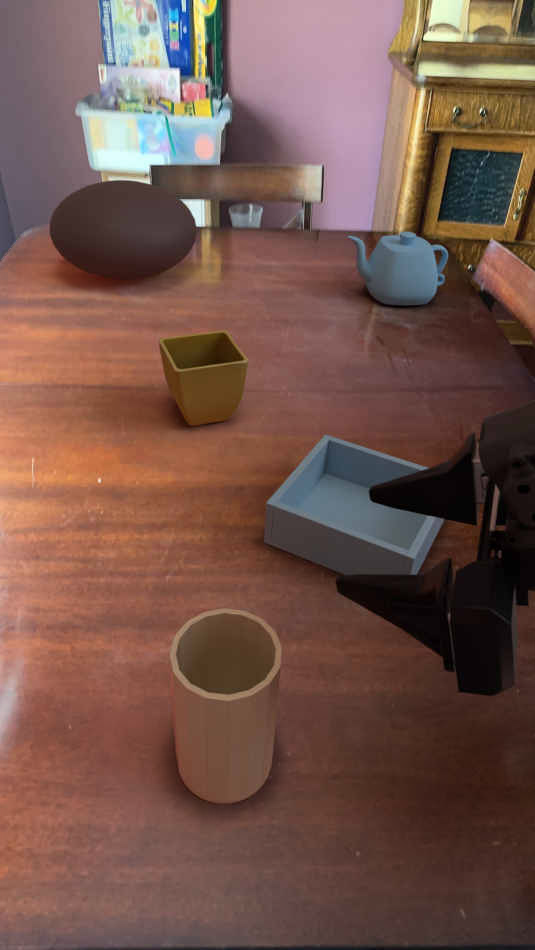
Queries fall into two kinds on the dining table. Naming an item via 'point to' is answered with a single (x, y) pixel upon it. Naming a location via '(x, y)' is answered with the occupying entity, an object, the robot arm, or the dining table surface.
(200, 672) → the tumbler
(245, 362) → the flower pot
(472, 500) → the robot arm
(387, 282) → the teapot
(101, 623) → the dining table surface
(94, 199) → the smooth stone
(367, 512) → the tub
